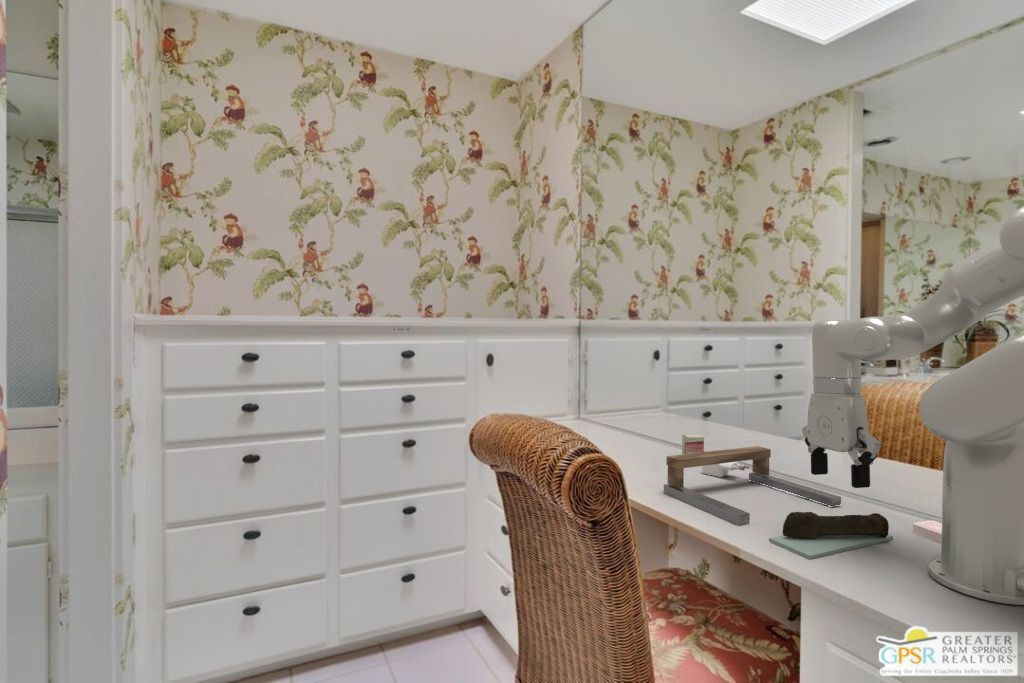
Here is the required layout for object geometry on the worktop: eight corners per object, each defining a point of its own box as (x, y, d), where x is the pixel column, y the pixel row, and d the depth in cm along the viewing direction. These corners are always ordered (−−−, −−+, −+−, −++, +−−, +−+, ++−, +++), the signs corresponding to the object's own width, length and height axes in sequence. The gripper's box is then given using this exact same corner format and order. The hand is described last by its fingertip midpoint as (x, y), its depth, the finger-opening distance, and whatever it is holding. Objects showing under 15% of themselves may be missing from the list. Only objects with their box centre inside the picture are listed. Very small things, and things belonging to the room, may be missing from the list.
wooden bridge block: (770, 474, 130) (770, 449, 130) (677, 488, 118) (678, 460, 118) (757, 470, 133) (757, 446, 133) (666, 483, 122) (666, 456, 122)
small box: (686, 464, 149) (686, 436, 149) (681, 460, 153) (681, 433, 153) (704, 464, 149) (704, 436, 149) (698, 460, 153) (699, 433, 153)
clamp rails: (840, 505, 114) (841, 496, 114) (738, 525, 102) (738, 515, 102) (757, 479, 134) (757, 471, 134) (663, 493, 122) (663, 484, 122)
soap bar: (931, 531, 100) (932, 519, 100) (985, 550, 92) (986, 536, 92) (910, 534, 99) (911, 521, 99) (963, 553, 90) (963, 539, 90)
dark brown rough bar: (874, 531, 98) (874, 506, 98) (890, 539, 94) (890, 514, 94) (774, 532, 97) (775, 507, 97) (787, 541, 93) (787, 515, 93)
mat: (893, 539, 95) (893, 536, 95) (809, 559, 87) (810, 555, 87) (849, 524, 103) (849, 521, 103) (769, 541, 94) (769, 538, 94)
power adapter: (750, 479, 134) (750, 457, 134) (742, 483, 130) (742, 460, 130) (709, 471, 142) (709, 449, 142) (700, 474, 139) (700, 452, 138)
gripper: (786, 384, 104) (788, 470, 104) (857, 391, 87) (859, 494, 87) (820, 383, 105) (822, 468, 105) (896, 390, 88) (898, 491, 88)
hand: (839, 480), depth 96 cm, fingers open, 9 cm apart
